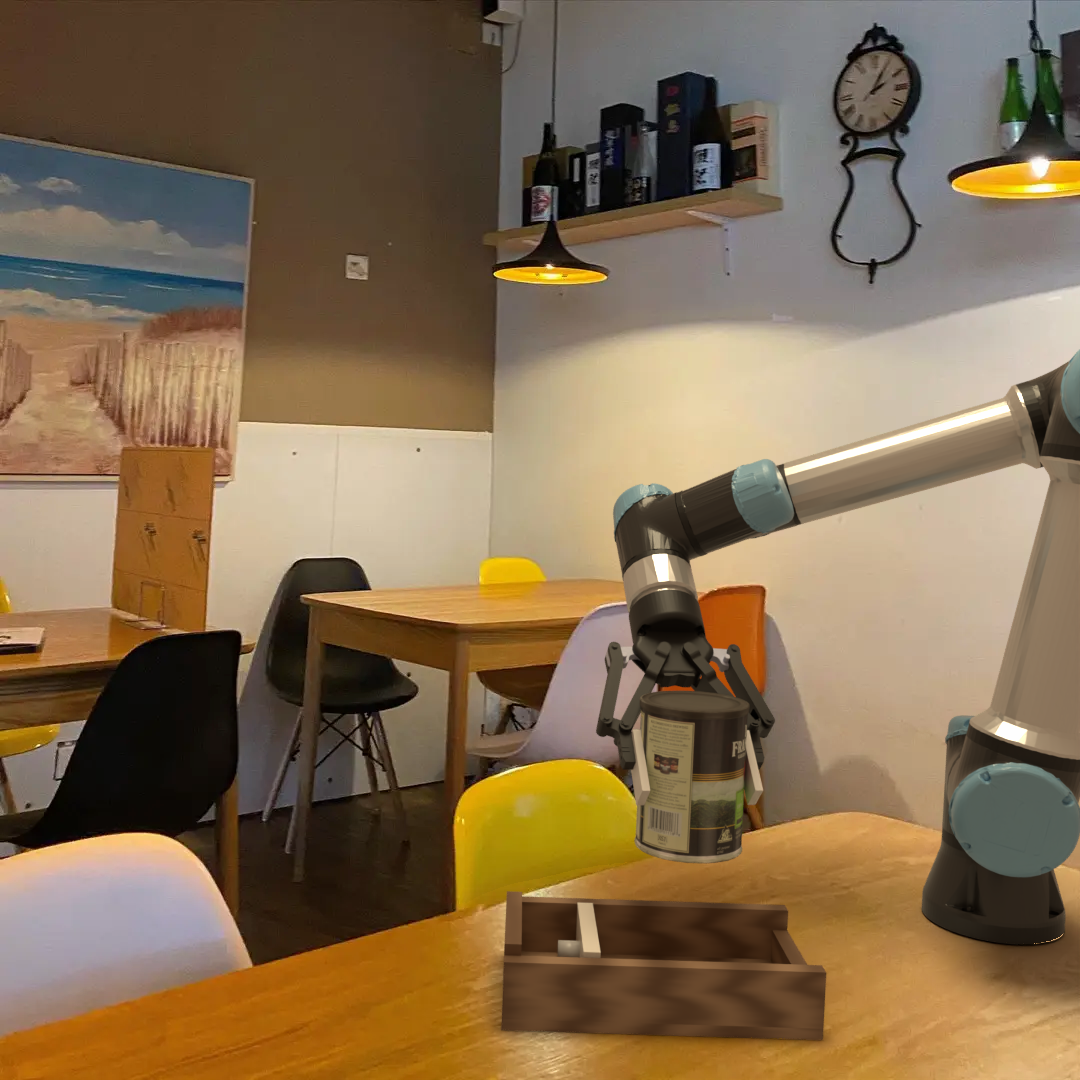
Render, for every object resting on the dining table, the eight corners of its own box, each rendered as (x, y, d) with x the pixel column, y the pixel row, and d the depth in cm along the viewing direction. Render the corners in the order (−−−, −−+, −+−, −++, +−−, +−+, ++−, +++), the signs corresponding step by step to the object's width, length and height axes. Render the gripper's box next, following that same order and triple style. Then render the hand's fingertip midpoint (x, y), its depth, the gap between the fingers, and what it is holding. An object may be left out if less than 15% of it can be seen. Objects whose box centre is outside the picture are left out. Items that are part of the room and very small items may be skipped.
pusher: (590, 952, 113) (592, 903, 113) (598, 1008, 101) (600, 952, 101) (555, 951, 113) (557, 901, 113) (558, 1006, 101) (560, 951, 101)
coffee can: (743, 835, 113) (750, 694, 113) (741, 869, 103) (749, 714, 102) (639, 825, 115) (645, 686, 115) (627, 858, 105) (634, 706, 104)
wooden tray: (781, 963, 116) (785, 895, 115) (823, 1040, 100) (826, 961, 99) (504, 954, 115) (507, 886, 115) (501, 1030, 99) (504, 950, 99)
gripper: (756, 632, 125) (803, 817, 111) (552, 627, 122) (573, 818, 107) (776, 588, 120) (828, 777, 105) (563, 582, 116) (586, 777, 101)
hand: (699, 798), depth 106 cm, fingers closed on coffee can, 10 cm apart
